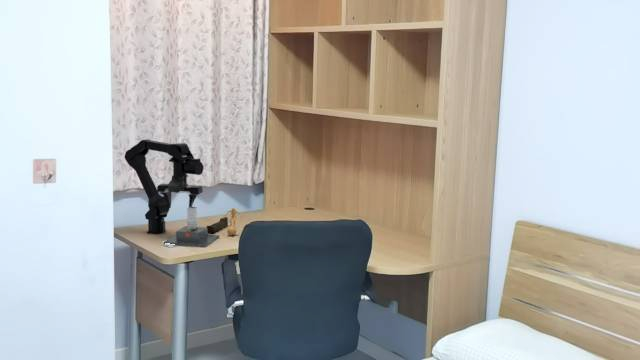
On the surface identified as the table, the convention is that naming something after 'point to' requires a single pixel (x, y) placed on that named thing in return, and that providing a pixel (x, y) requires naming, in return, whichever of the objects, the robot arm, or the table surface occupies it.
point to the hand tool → (217, 225)
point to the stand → (192, 237)
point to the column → (192, 218)
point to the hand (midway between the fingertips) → (179, 208)
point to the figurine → (231, 230)
